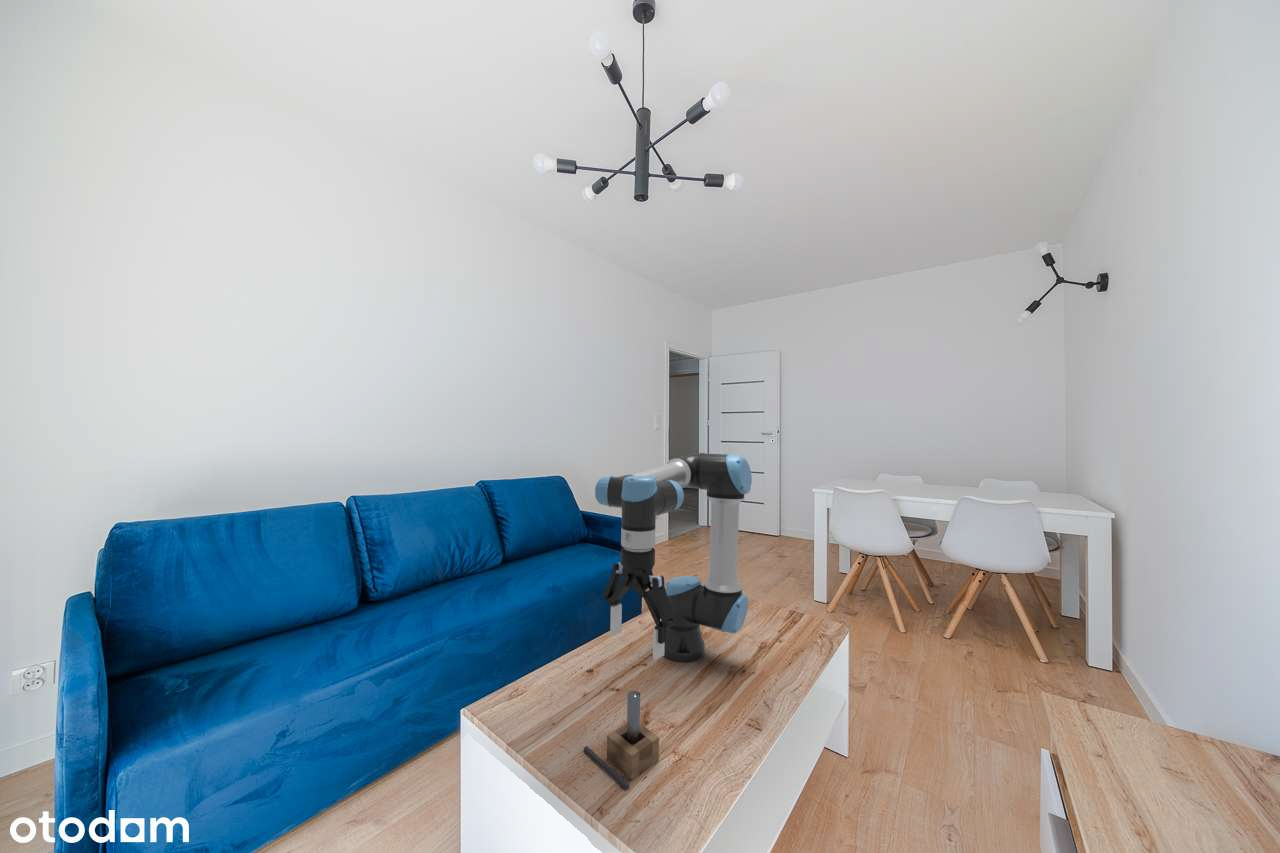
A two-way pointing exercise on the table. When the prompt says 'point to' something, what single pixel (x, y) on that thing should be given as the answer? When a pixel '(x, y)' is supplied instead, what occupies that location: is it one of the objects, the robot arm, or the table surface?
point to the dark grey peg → (633, 717)
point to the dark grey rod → (606, 768)
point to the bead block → (632, 751)
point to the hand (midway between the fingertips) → (636, 644)
